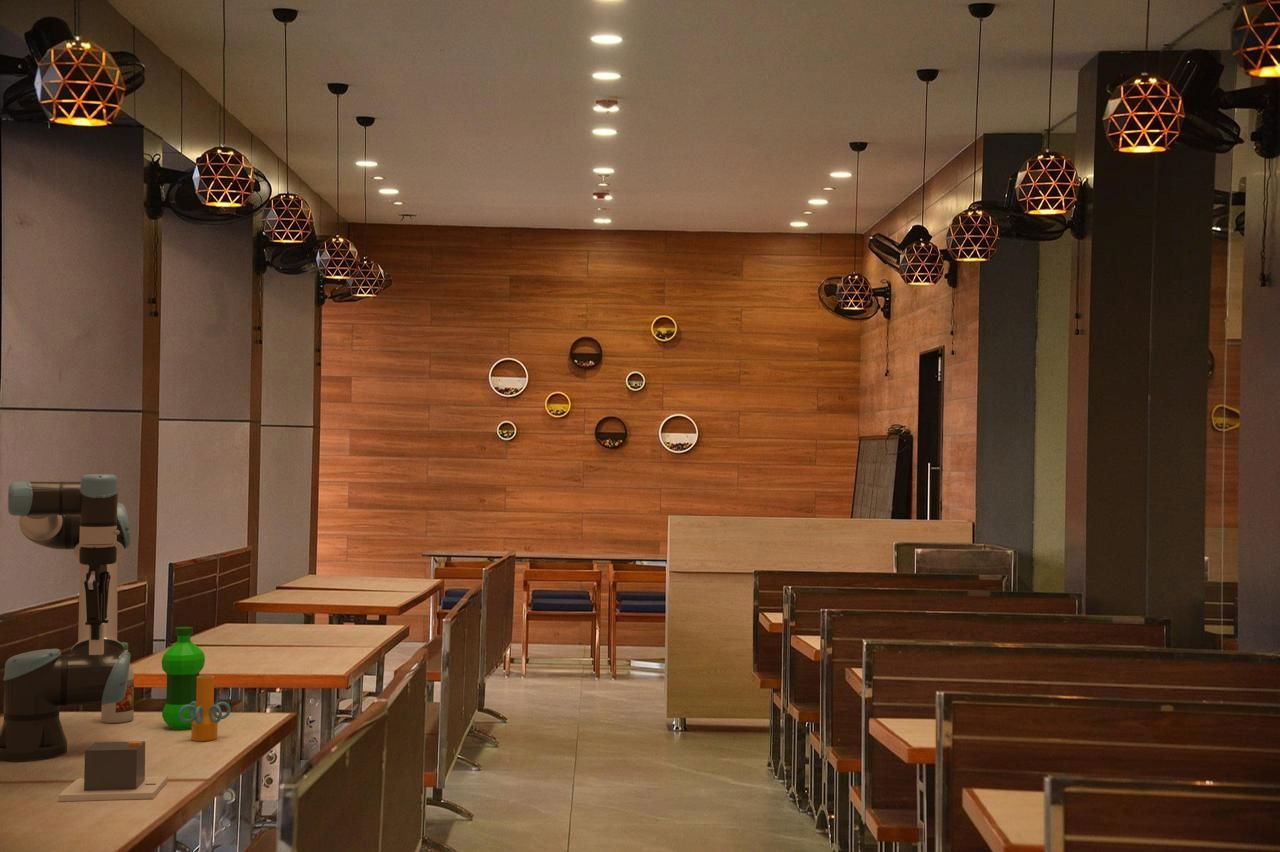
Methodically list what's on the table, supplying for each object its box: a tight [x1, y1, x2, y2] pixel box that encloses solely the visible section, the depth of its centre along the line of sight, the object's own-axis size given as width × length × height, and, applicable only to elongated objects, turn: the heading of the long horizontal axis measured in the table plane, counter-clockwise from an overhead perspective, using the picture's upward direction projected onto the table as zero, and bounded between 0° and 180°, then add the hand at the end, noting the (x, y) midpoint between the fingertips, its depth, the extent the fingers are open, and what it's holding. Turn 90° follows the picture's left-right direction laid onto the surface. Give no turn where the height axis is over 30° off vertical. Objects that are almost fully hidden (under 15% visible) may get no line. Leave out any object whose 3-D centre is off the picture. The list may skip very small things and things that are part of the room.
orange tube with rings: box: [179, 675, 231, 742], centre depth 324 cm, size 12×10×15 cm
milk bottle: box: [100, 641, 135, 724], centre depth 345 cm, size 8×8×20 cm
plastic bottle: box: [161, 626, 206, 730], centre depth 337 cm, size 10×10×25 cm
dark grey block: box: [83, 740, 146, 791], centre depth 273 cm, size 10×8×9 cm
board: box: [57, 775, 169, 802], centre depth 273 cm, size 18×14×7 cm
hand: (96, 654), depth 290 cm, fingers closed
